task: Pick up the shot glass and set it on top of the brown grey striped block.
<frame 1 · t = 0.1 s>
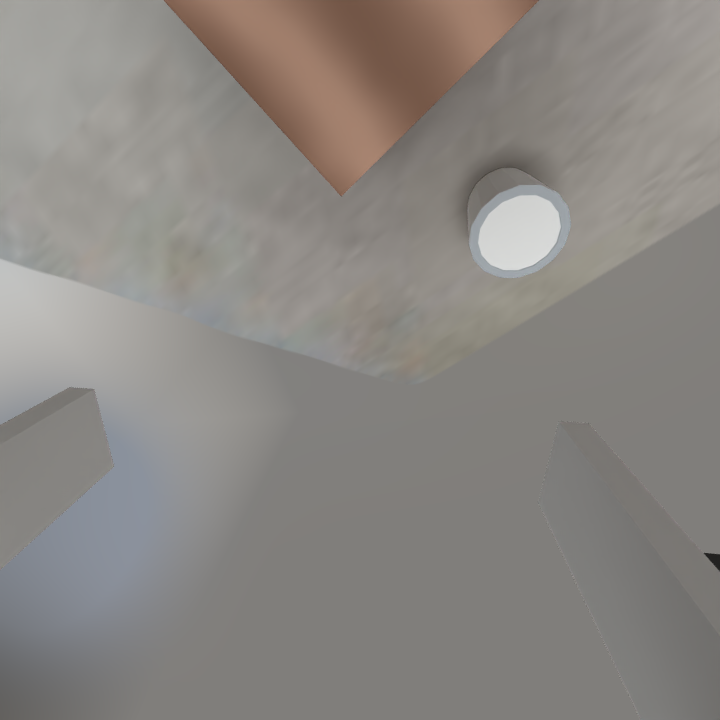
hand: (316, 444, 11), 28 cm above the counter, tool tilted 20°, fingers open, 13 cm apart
shot glass: (500, 202, 33), on the counter
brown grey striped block: (365, 6, 25), on the counter
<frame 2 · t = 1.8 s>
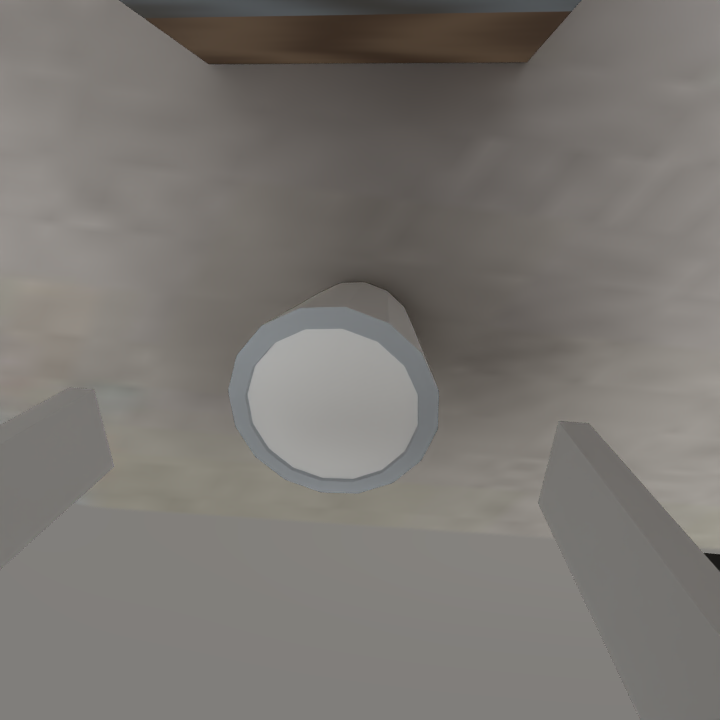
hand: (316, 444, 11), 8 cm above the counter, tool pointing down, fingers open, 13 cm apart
shot glass: (356, 337, 19), on the counter
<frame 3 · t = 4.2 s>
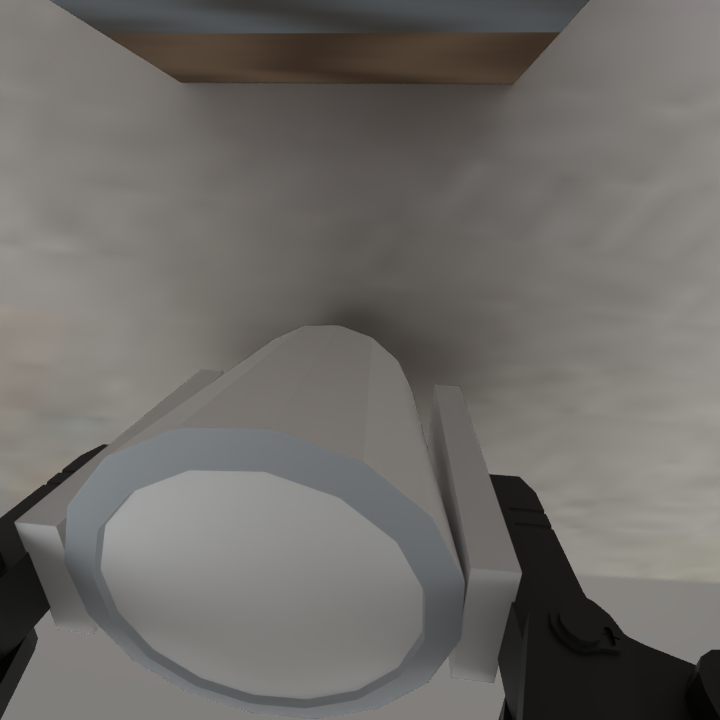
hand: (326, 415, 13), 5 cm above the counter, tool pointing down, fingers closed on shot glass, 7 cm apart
shot glass: (329, 401, 13), point 5 cm above the counter, touching gripper
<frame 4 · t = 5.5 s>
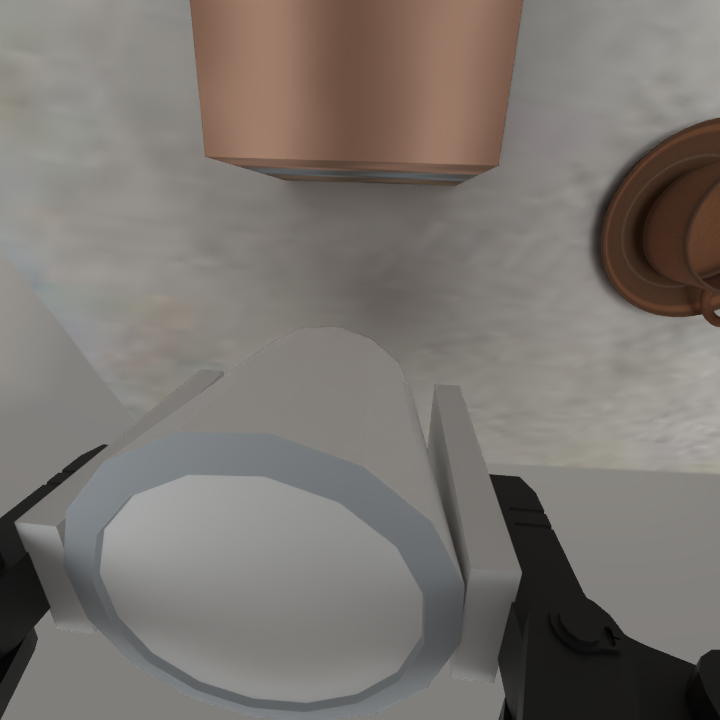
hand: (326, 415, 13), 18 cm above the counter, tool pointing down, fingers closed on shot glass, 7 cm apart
shot glass: (329, 403, 13), point 18 cm above the counter, touching gripper
cup and saucer: (680, 224, 26), on the counter
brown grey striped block: (372, 79, 24), on the counter
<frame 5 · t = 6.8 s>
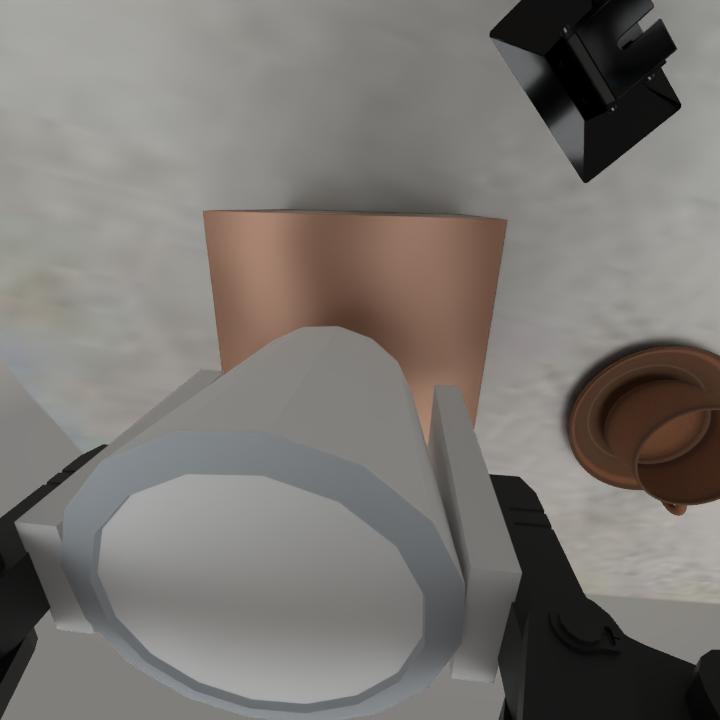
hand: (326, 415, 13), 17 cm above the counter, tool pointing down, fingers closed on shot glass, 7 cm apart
black boxy piece: (580, 74, 23), on the counter
shot glass: (329, 403, 13), point 17 cm above the counter, touching gripper
cup and saucer: (639, 410, 30), on the counter
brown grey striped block: (368, 298, 28), on the counter
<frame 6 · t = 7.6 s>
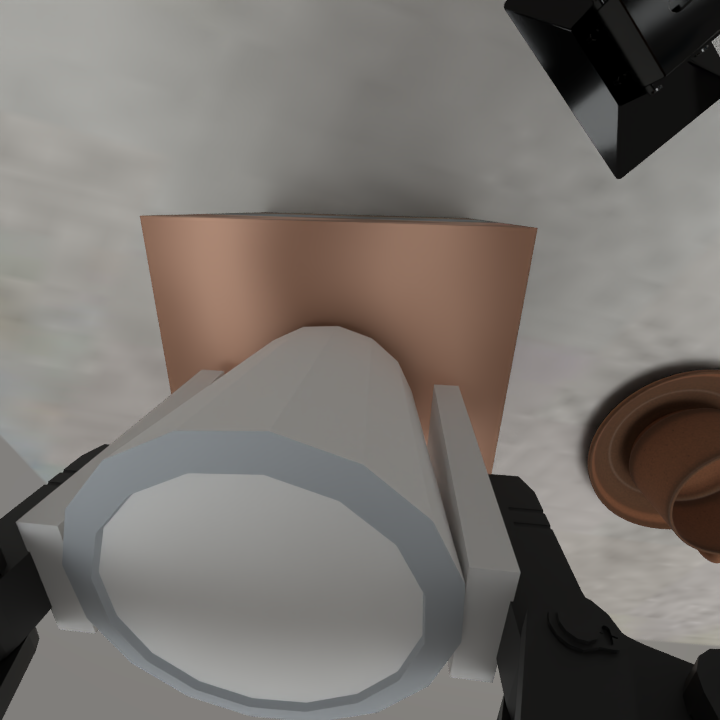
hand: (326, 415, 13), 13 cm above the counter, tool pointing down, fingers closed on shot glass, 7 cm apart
black boxy piece: (611, 51, 19), on the counter
shot glass: (329, 402, 13), point 13 cm above the counter, touching gripper
cup and saucer: (667, 438, 26), on the counter
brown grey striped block: (361, 314, 25), on the counter
when the fingers open (13 cm above the counter, at t = 7.7 s): shot glass stays where it is, resting on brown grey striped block.
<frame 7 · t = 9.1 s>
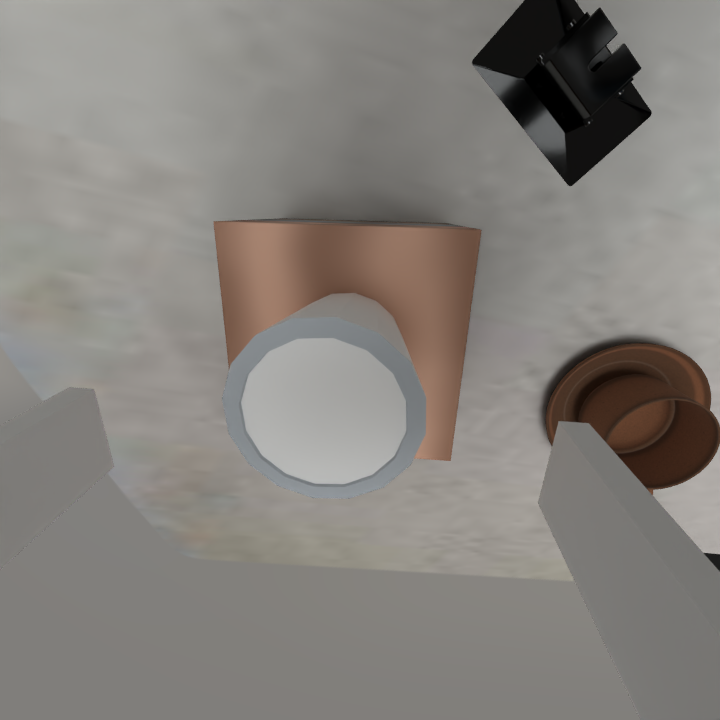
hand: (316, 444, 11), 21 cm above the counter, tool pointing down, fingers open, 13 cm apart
black boxy piece: (557, 91, 25), on the counter
shot glass: (347, 347, 19), point 12 cm above the counter, touching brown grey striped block
cup and saucer: (612, 403, 32), on the counter
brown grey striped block: (361, 301, 30), on the counter
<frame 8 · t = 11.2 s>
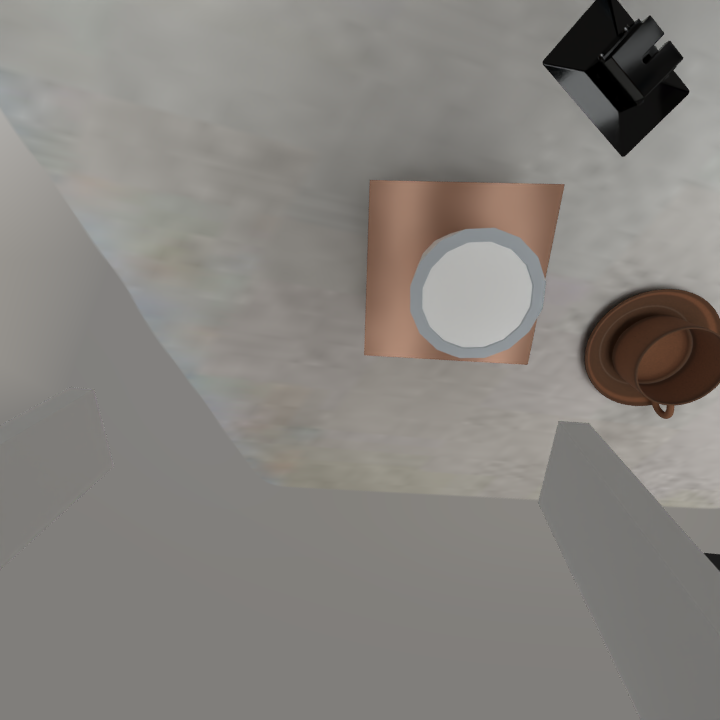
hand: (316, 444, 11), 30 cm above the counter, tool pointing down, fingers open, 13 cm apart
black boxy piece: (610, 79, 31), on the counter
shot glass: (456, 275, 26), point 12 cm above the counter, touching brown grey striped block
cup and saucer: (639, 343, 39), on the counter
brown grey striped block: (437, 257, 37), on the counter
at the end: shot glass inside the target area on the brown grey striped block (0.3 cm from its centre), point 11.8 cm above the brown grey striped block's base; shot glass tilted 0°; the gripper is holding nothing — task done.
